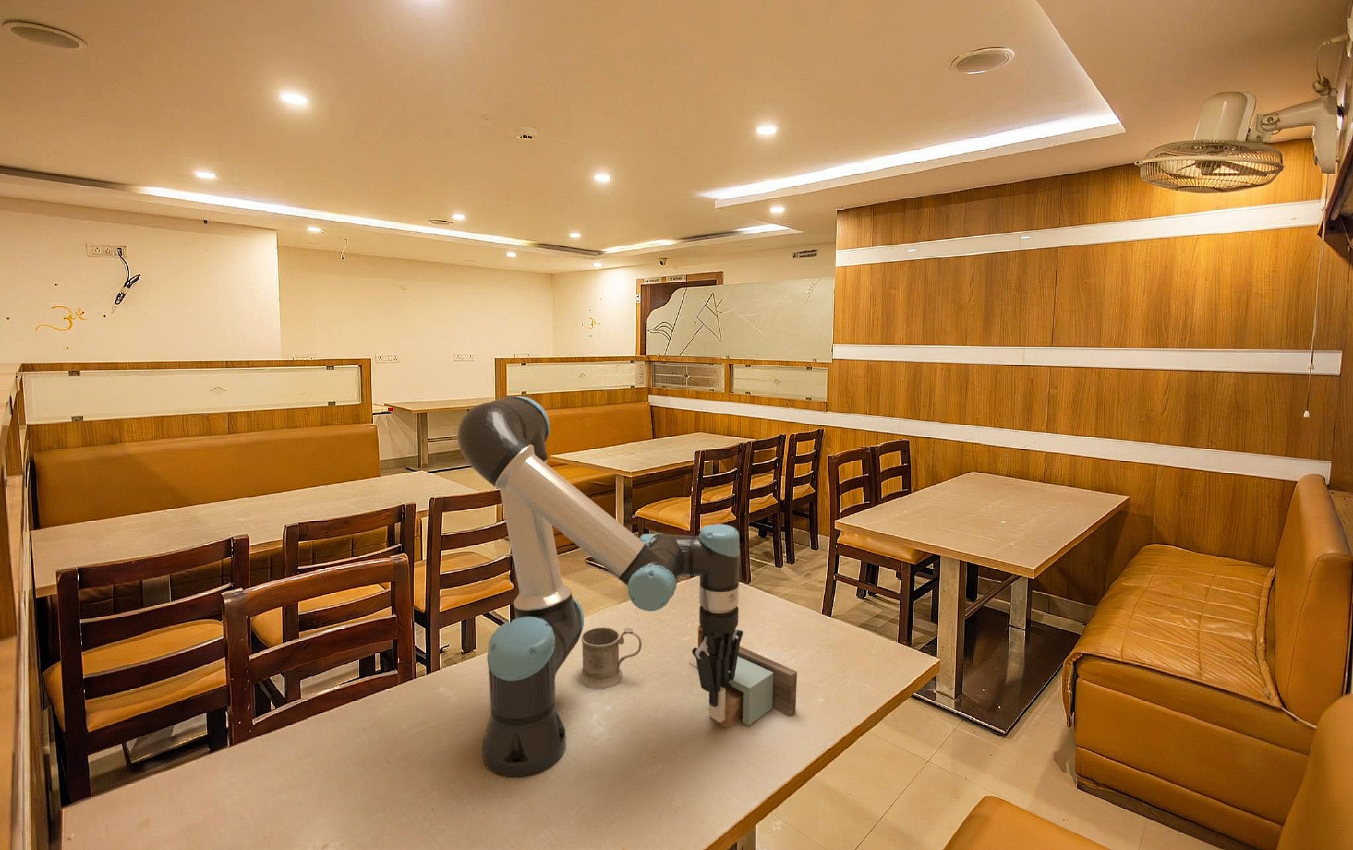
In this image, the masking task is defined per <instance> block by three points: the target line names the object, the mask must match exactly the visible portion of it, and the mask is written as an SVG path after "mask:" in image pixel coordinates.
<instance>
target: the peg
mask: <svg viewBox="0 0 1353 850" xmlns="http://www.w3.org/2000/svg"><path fill="white" fill-rule="evenodd" d="M726 695H727V697H726V700H725V720H723V721H722V722H718V721H717V720H715V719H713V718H711V717H710V716H709V719H710V720H712V721H714V722H716V723H718V724H719V725H721V726H723V727H724V728H726V729H728V730H729V729H731V728H732V727H733V726H735V725H736V724H737V723H739V722H740V721H743V695H744V692H742V691H740V690H738V689H736V688H734V687H732V686H731V688H730V689H728V688H727V694H726Z"/></svg>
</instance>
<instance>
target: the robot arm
mask: <svg viewBox="0 0 1353 850" xmlns="http://www.w3.org/2000/svg"><path fill="white" fill-rule="evenodd" d="M550 423H551V422H550V419H549V416H548V414H547V412H546V410H545V409H544V408H543V406H542V405H541V404H539V403H538V402H537V401H535V400H534V399H531V397H525V396H521V395H520V396H518V395H517V396H506V397H501V398H499V399H496V400H492V401H489V402H485V403H484V402H483V403H481V404H477V405H476V406H474V407H472V408H471V409H469V410H468V411H467V412H466V414H465V415H464V416H462V419H461V421H460V423H459V426H458V430H457V441H458V447H459V449H460V452H461V454H462V456H463V458H464V459H465V461H467V463H468V464H469V465H470V466H471V468H473V470H474V471H476V473H478V474H479V475H480V476H481V477H482V478H483V479H484V480H485V481H487V482H488V483H490V485H492V486H493V487H495V489H497V490H498V489H499V491H500V497H501V502H502V507H503V511H504V512H503V513H504V517H505V518H504V519H505V524H506V528H507V533H508V539H509V544H510V549H511V554H512V559H513V560H512V561H513V564H514V570H515V575H516V576H515V577H516V581H517V585H518V593H519V594H517V596H516V598H515V599H514V601H513V607H514V608H513V609H514V614H515V618H514V619H512V620H511V622H508V621H506V622H504V623H503V624H501V625H500V626H499V627H497V628H496V629H495V631H494V632H493V633H492V634H491V636H490V639H489V641H488V642H489V643H488V649H487V650H488V652H487V658H486V659H487V666H488V682H489V683H488V684H489V703H490V717H489V720H488V723H487V727H486V730H485V734H484V736H483V740H482V745H481V750H482V753H481V755H482V761H483V763H484V766H486V768H488V769H489V771H491V772H493V773H495V774H497V775H500V776H505V777H517V778H518V777H525V776H531V775H535V774H537V773H540V772H542V771H545V770H546V769H548V768H550V767H552V766H553V765H554V764H556V763H557V762H558V761H559V760H560V759H561V757H562V756H563V755H564V753H565V750H566V747H567V746H566V745H567V739H566V735H567V734H566V729H565V727H564V724H563V721H562V719H561V716H560V714H559V710H558V709H557V706H556V675H557V673H558V671H559V669H560V668H561V666H562V665H563V664H564V662H565V661H566V659H567V658H568V656H569V655H570V653H571V652H572V651H573V649H574V648H575V647H576V645H577V644H578V642H579V640H580V637H582V634H583V633H582V632H583V630H584V627H585V625H584V624H585V615H584V611H583V608H582V605H581V604H580V602H579V601H578V600H577V599H575V598H574V597H573V593H572V589H571V587H569V586H568V585H566V584H565V583H563V580H562V575H561V574H562V573H561V568H560V564H559V563H560V562H559V558H558V553H557V551H558V550H557V547H556V542H555V541H556V540H555V536H554V530H553V527H554V528H555V529H556V530H558V531H559V532H560V533H561V534H562V535H563V536H565V537H566V538H567V539H569V540H570V541H571V542H573V543H574V544H575V545H576V546H578V547H579V548H580V549H581V550H583V551H584V552H585V553H587V555H589V556H590V557H591V558H592V559H594V560H595V561H596V562H597V563H598V564H600V565H601V566H603V567H604V568H605V569H606V570H607V571H609V572H610V573H611V574H612V575H614V576H615V577H616V578H617V579H618V580H619V581H621V582H622V583H623V584H624V585H625V586H627V595H628V596H629V599H630V601H631V603H632V604H633V605H634V606H635V607H637V608H638V609H639V610H641V611H642V610H643V611H646V612H655V611H658V610H662V608H664V607H665V606H667V605H668V604H669V601H670V600H671V598H672V597H673V596H674V594H675V591H676V590H677V584H678V582H679V579H680V578H681V576H687V577H699V594H698V595H699V596H698V597H699V598H698V600H699V601H698V602H699V608H698V609H699V614H698V615H699V617H698V618H699V620H698V621H699V625H701V627H702V629H703V634H702V637H701V641H702V643H701V645H700V646H699V648H698V647H693V648H692V652H691V653H692V655H693V656H694V658H695V660H696V662H697V667H696V669H697V672H698V676H699V677H698V678H699V684H700V688H701V689H703V690H704V691H706V692H708V703H709V718H710V717H711V718H713V719H715V720H717V721H718V722H722V721H723V720H725V700H726V697H727V695H726V694H727V688H728V689H730V688H731V686H732V684H730V683H729V681H730V680H733V679H734V676H735V670H736V664H737V658H738V652H739V646H740V643H741V641H742V638H743V635H744V631H743V630H741V629H738V628H737V627H738V625H739V586H740V585H739V583H740V564H741V563H740V560H741V558H740V557H741V550H740V533H739V531H738V530H737V529H736V527H733V526H731V525H728V524H722V523H715V524H708V525H704V526H702V527H701V529H700V533H699V535H679V534H668V533H667V534H664V533H660V532H657V533H644V534H642V535H640V537H638V536H636V535H635V534H634V533H633V532H631V531H630V530H629V529H628V528H627V527H625V526H624V525H623V524H622V523H620V522H619V521H618V520H617V519H615V518H613V516H612V515H610V514H609V513H608V512H606V511H605V510H604V509H603V508H602V507H600V506H599V505H598V504H597V503H595V502H594V501H593V500H592V499H590V498H589V497H588V496H587V495H585V493H583V492H582V491H580V489H578V488H577V487H576V486H574V485H573V484H572V483H570V482H569V481H568V480H567V479H566V478H565V477H563V476H562V475H561V474H559V473H558V472H557V471H555V469H553V468H552V467H551V466H550V465H548V464H547V463H548V461H549V458H548V452H547V446H546V442H547V440H548V437H549V435H550V432H551V424H550ZM740 647H741V646H740ZM729 671H730V673H729ZM711 718H710V719H711ZM718 722H717V723H718Z"/></svg>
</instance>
